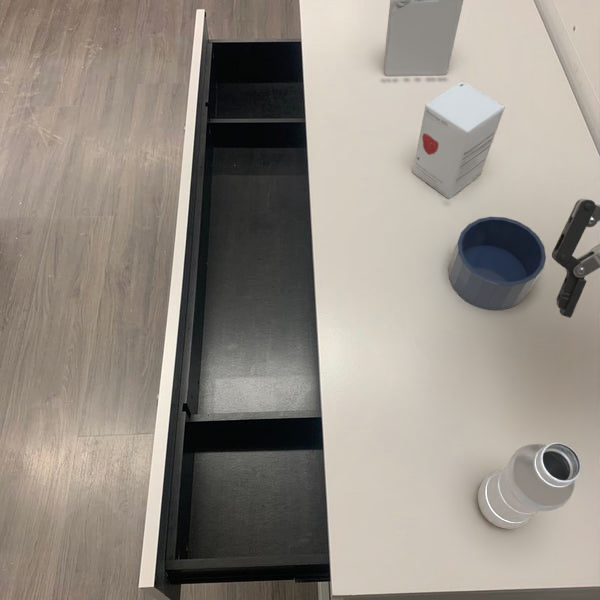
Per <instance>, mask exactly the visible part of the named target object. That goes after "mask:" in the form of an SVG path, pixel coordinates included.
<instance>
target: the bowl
mask: <svg viewBox="0 0 600 600" xmlns="http://www.w3.org/2000/svg"><path fill="white" fill-rule="evenodd" d="M546 260H547V255H546V249H545V245H544V243H543V242H542V240H541V238H540V236H539V235H538V234H537V233H536V232H535V231H533V230H532V229H531V227H529V226H527V225H525V224H524V223H522V222H521V221H518V220H515V219H511V218H509V217H503V216H487V217H481V218H478V219H476V220H475V221H473V222H470V223H468V224H467V225H466V226H465V227H464V229H463V230H462V231H461V232H460V235H459V237H458V240H457V243H456V245H455V249H454V251H453V254H452V257H451V260H450V262H449V267H448V278H449V282H450V284H451V286H452V288H453V290H454V292H456V294H457V295H458V296H459V297H460V298H461V299H463V300H464V301H465V302H467V303H469V305H472V306H474V307H477V308H480V309H483V310H489V311H502V310H507V309H509V308H510V309H511V308H513V307H515V306H517V305H519V304H520V303H521V302H522V301H523V300H525V298H526V297H527V295H528V294H529V292H530V291H531V289H532V287H533V286H534V285H535V283H536V281H537V279H538V278H539V276H540V275H541V273H542V271H543V270H544V267H545V264H546Z"/></svg>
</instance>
